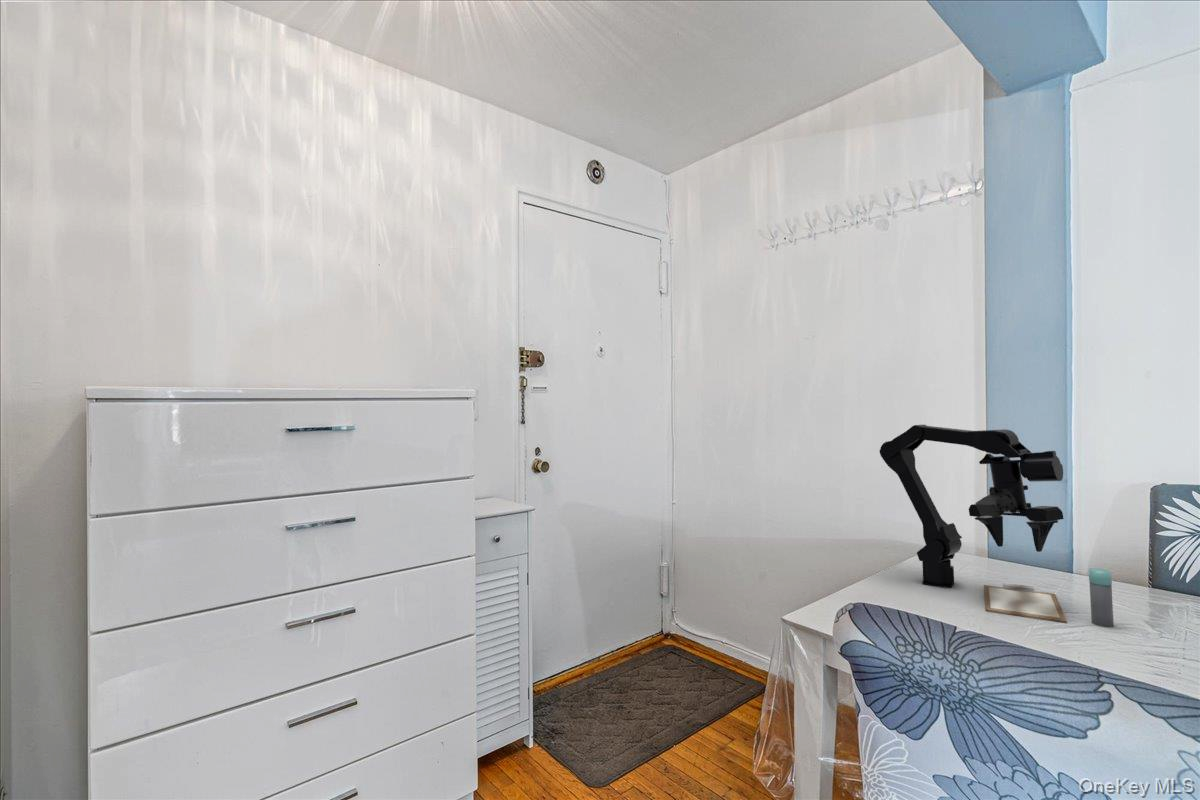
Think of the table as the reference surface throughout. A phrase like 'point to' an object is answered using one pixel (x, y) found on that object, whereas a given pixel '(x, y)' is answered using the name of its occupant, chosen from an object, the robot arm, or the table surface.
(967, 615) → the table surface
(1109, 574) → the marker
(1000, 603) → the clipboard
